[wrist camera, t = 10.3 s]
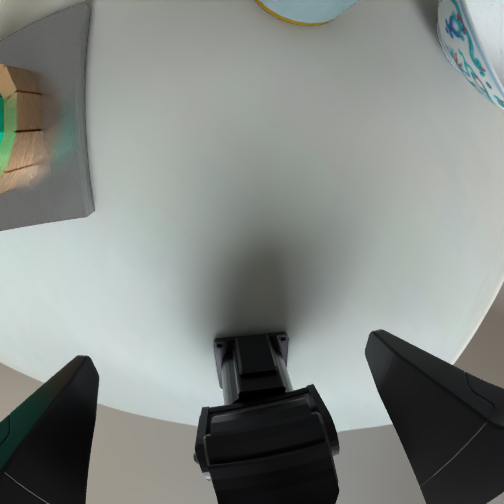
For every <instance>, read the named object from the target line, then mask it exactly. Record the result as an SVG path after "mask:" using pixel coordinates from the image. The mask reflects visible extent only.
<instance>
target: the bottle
mask: <svg viewBox="0 0 504 504" xmlns="http://www.w3.org/2000/svg"><path fill="white" fill-rule="evenodd" d="M255 1H256V2H257V3H258V4H259V5H260V6H261V7H262V8H263V9H264V10H265V11H267V12H268V13H270V14H272V15H273V16H275V17H277V18H278V19H281V20H283V21H286V22H289V23H292V24H297V25H306V26H314V25H321V24H325V23H327V22H329V21H331V20H333V19H335V18H336V17H338V16H339V15H340V14H342V13H343V12H344V11H345V10H347V9H348V8H349V7H351V6H352V5H353V4H355V3H356V2H357V1H359V0H255Z"/></svg>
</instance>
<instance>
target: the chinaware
mask: <svg viewBox="0 0 504 504" xmlns="http://www.w3.org/2000/svg"><path fill="white" fill-rule="evenodd" d="M437 11H438V22H437V35H438V39H439V42H440V45H441V47H442V49H443V51H444V53H445V55H446V57H447V58H448V60H449V61H450V62H451V64H452V65H453V66H454V67H455V68H456V69H457V70H458V71H460V72H461V73H463V74H464V76H465V77H466V78H467V79H468V81H469V82H470V83H471V84H472V85H473V86H474V87H475V88H476V89H477V90H478V91H479V92H480V93H481V94H482V95H483V96H484V97H486V98H487V99H488V100H489V101H491V102H492V103H493V104H495V105H496V106H498V107H499V108H501V109H503V110H504V0H438V4H437Z"/></svg>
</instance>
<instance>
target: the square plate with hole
mask: <svg viewBox="0 0 504 504" xmlns="http://www.w3.org/2000/svg"><path fill="white" fill-rule="evenodd" d="M90 14H91V9H90V8H89V7H88V6H87V5H86V4H85V3H81V4H78V5H75V6H72V7H70V8H67V9H65V10H62V11H60V12H57V13H55V14H52V15H50V16H48V17H46V18H43V19H41V20H39V21H37V22H35V23H33V24H31V25H29V26H27V27H25V28H23V29H21V30H19V31H17V32H15V33H14V34H12V35H10V36H8V37H7V38H5V39H3V40H1V41H0V97H2V98H3V100H4V134H3V138H2V141H1V145H0V231H3V230H9V229H14V228H20V227H25V226H31V225H37V224H43V223H49V222H56V221H63V220H69V219H76V218H83V217H87V216H89V215H90V214H91V213H93V212H94V205H93V198H92V191H91V184H90V176H89V166H88V156H87V144H86V127H85V67H86V51H87V39H88V30H89V21H90Z"/></svg>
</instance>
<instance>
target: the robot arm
mask: <svg viewBox="0 0 504 504" xmlns="http://www.w3.org/2000/svg"><path fill="white" fill-rule="evenodd" d="M282 337H284V338H282ZM288 341H289V338H288V335H287V333H286V332H278V333H269V334H261V335H251V336H241V337H230V338H218V339H216V340H214V352H215V359H216V365H217V372H218V378H219V385H220V388H222V389H223V395H224V405H223V406H217V407H202V411H201V416H200V418H199V424H198V430H197V437H196V443H195V453H194V461H195V462H196V463H198V464H199V465H200V468H201V470H202V473H203V474H204V476H205V478H206V479H207V480H212V483H213V486H214V490H215V493H216V496H217V501H218V504H335V503H336V500H337V497H338V494H339V487H338V478H337V474H336V469H335V465H334V460H333V456H334V455H337V454H339V441H338V437H337V432H336V429H335V425H334V423H333V420H332V417H331V415H330V413H329V411H328V410H327V408H326V406H325V404H324V402H323V401H322V399H321V397H320V395H319V393H318V392H317V390H316V388H315V386H314V384H312V385H308V386H306V387H305V388H301V389H298V390H294V391H293V388H292V384H291V381H290V378H289V375H288V372H287V369H286V367H287V355H288ZM218 344H221V345H218ZM365 356H366V359H367V362H368V365H369V367H370V370H371V373H372V376H373V379H374V382H375V384H376V387H377V390H378V393H379V395H380V397H381V399H382V401H383V404H384V406H385V408H386V410H387V412H388V414H389V416H390V419H391V421H392V423H393V425H394V427H395V429H396V431H397V434H398V436H399V438H400V440H401V443H402V445H403V447H404V450H405V452H406V454H407V457H408V459H409V461H410V464H411V466H412V468H413V471H414V473H415V475H416V478H417V481H418V483H419V486H420V489H421V491H422V494H423V496H424V499H425V501H426V504H504V389H503V388H501V387H498V386H495V385H493V384H491V383H488V382H486V381H484V380H481V379H479V378H477V377H475V376H473V375H471V374H469V373H467V372H464V371H463V370H461V369H459V368H457V367H455V366H453V365H451V364H449V363H447V362H445V361H443V360H441V359H439V358H437V357H435V356H434V355H432V354H430V353H428V352H426V351H424V350H422V349H420V348H418V347H416V346H414V345H412V344H410V343H408V342H406V341H404V340H402V339H400V338H398V337H396V336H394V335H392V334H391V333H389V332H387V331H385V330H382V329H380V330H375V331H372V332H371V333H370V334H369V338H368V341H367V345H366V348H365ZM98 387H99V374H98V372H97V370H96V368H95V366H94V364H93V362H92V360H91V358H90V357H89V356H84V355H78V356H76V357H75V358H74V359H73V360H71V361H70V362H69V363H68V364H67V365H66V366H64V367H63V368H62V369H61V370H60V371H58V372H57V373H56V374H55V375H54V376H53V377H51V378H50V379H49V380H48V381H47V382H46V383H44V384H43V385H42V386H41V387H40V388H39V389H37V390H36V391H35V392H34V393H33V394H32V395H31V396H29V397H28V398H27V399H26V400H25V401H24V402H23V403H22V404H20V405H19V406H18V407H17V408H16V409H15V410H14V411H12V412H11V413H10V415H8V416H7V417H6V418H5V419H3V421H1V422H0V504H86V503H85V502H86V489H87V478H88V468H89V460H90V453H91V446H92V439H93V432H94V427H95V421H96V410H97V398H98Z"/></svg>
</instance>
